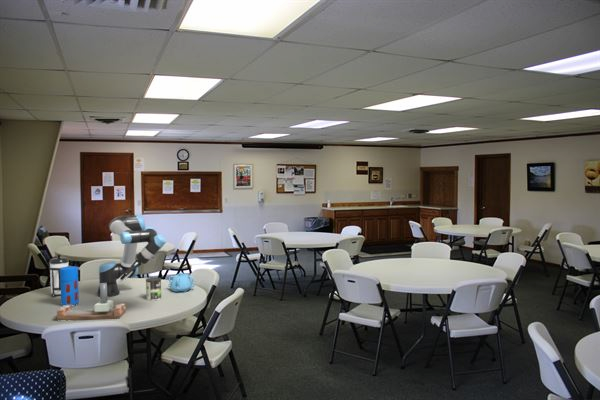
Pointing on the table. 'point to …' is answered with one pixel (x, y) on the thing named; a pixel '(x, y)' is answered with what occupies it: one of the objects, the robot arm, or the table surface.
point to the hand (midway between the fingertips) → (120, 280)
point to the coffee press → (56, 273)
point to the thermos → (69, 285)
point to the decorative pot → (181, 282)
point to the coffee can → (153, 289)
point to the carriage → (103, 300)
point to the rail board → (92, 316)
